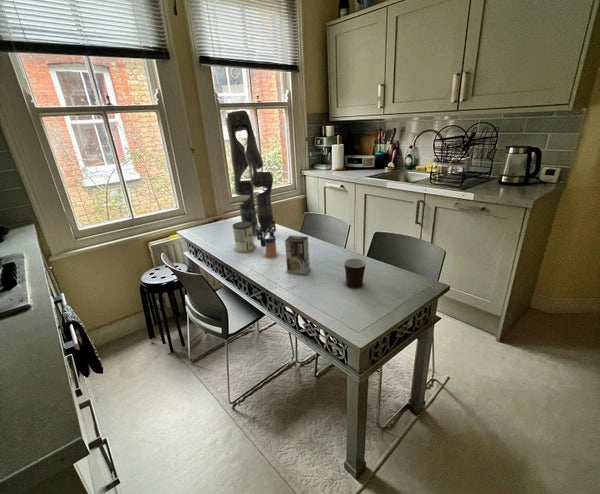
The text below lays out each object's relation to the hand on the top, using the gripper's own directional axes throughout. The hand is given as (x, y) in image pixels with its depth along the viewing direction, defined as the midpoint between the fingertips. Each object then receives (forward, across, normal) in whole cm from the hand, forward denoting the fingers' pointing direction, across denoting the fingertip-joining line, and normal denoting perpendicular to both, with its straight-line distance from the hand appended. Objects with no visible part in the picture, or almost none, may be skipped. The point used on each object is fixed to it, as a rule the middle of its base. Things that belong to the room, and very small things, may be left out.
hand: (267, 243), depth 161 cm
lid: (-3, -1, +1) cm, 3 cm away
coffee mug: (+7, +12, +50) cm, 52 cm away
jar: (+7, -1, +1) cm, 7 cm away
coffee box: (+7, +10, +22) cm, 25 cm away
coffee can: (+7, -4, -18) cm, 19 cm away
